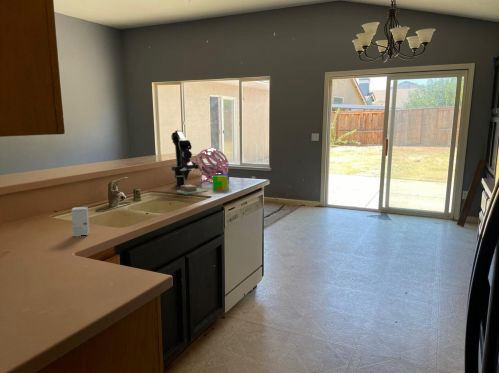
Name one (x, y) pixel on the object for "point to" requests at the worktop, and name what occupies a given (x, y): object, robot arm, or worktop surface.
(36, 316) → the worktop surface
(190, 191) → the mat
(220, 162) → the spiral basket
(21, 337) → the worktop surface
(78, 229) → the skincare box
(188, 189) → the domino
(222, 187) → the puzzle toy
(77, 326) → the worktop surface
